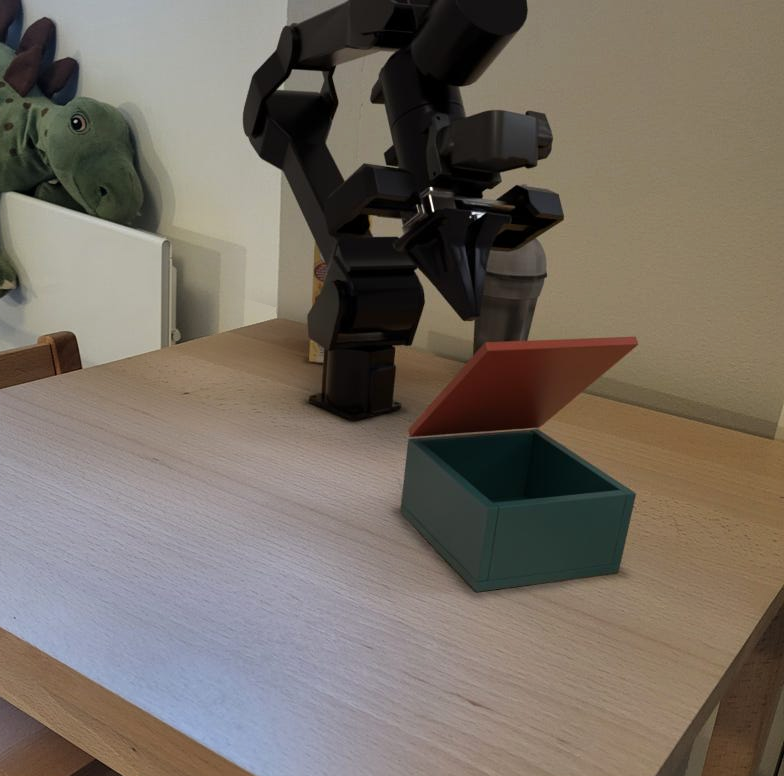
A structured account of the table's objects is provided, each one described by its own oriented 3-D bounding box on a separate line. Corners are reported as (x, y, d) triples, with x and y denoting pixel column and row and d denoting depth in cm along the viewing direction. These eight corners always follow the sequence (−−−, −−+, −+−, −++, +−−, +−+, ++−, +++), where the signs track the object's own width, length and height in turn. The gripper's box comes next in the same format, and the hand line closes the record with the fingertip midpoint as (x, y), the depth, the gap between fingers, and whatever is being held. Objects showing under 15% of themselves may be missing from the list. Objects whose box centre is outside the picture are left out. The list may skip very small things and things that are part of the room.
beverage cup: (525, 374, 99) (555, 181, 91) (533, 396, 92) (567, 189, 84) (457, 369, 99) (481, 176, 91) (461, 389, 93) (488, 183, 85)
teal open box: (618, 573, 59) (636, 493, 57) (475, 592, 56) (488, 508, 54) (525, 499, 69) (538, 428, 67) (399, 512, 66) (407, 438, 63)
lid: (639, 344, 55) (636, 336, 56) (487, 351, 52) (485, 341, 52) (539, 427, 66) (537, 420, 67) (409, 437, 63) (407, 429, 63)
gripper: (391, 32, 57) (443, 264, 55) (593, 81, 67) (645, 279, 65) (303, 131, 67) (343, 332, 64) (491, 160, 77) (533, 336, 74)
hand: (471, 319), depth 66 cm, fingers closed
